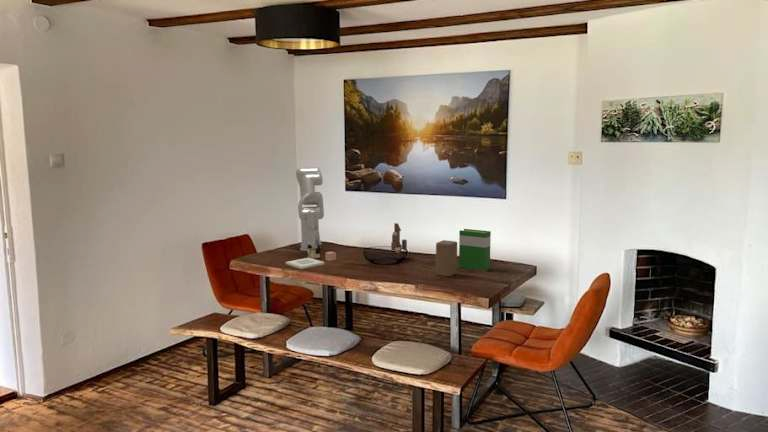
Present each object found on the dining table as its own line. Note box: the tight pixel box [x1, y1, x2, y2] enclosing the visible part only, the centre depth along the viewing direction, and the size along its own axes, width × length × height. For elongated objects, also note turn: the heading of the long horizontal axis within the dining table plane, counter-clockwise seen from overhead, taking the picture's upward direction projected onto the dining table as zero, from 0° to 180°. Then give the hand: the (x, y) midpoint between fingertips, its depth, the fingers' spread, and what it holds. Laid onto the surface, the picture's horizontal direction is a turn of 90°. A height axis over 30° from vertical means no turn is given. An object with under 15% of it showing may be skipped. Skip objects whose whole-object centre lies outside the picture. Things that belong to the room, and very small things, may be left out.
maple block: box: [307, 248, 321, 259], centre depth 386 cm, size 6×6×6 cm
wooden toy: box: [390, 222, 408, 259], centre depth 375 cm, size 16×7×25 cm, turn 157°
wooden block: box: [435, 239, 458, 277], centre depth 336 cm, size 10×10×20 cm
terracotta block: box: [324, 251, 337, 262], centre depth 379 cm, size 5×5×5 cm
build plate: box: [285, 257, 325, 270], centre depth 366 cm, size 18×18×2 cm
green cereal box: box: [458, 228, 492, 271], centre depth 351 cm, size 18×7×24 cm, turn 57°
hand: (313, 252), depth 385 cm, fingers open, 9 cm apart
